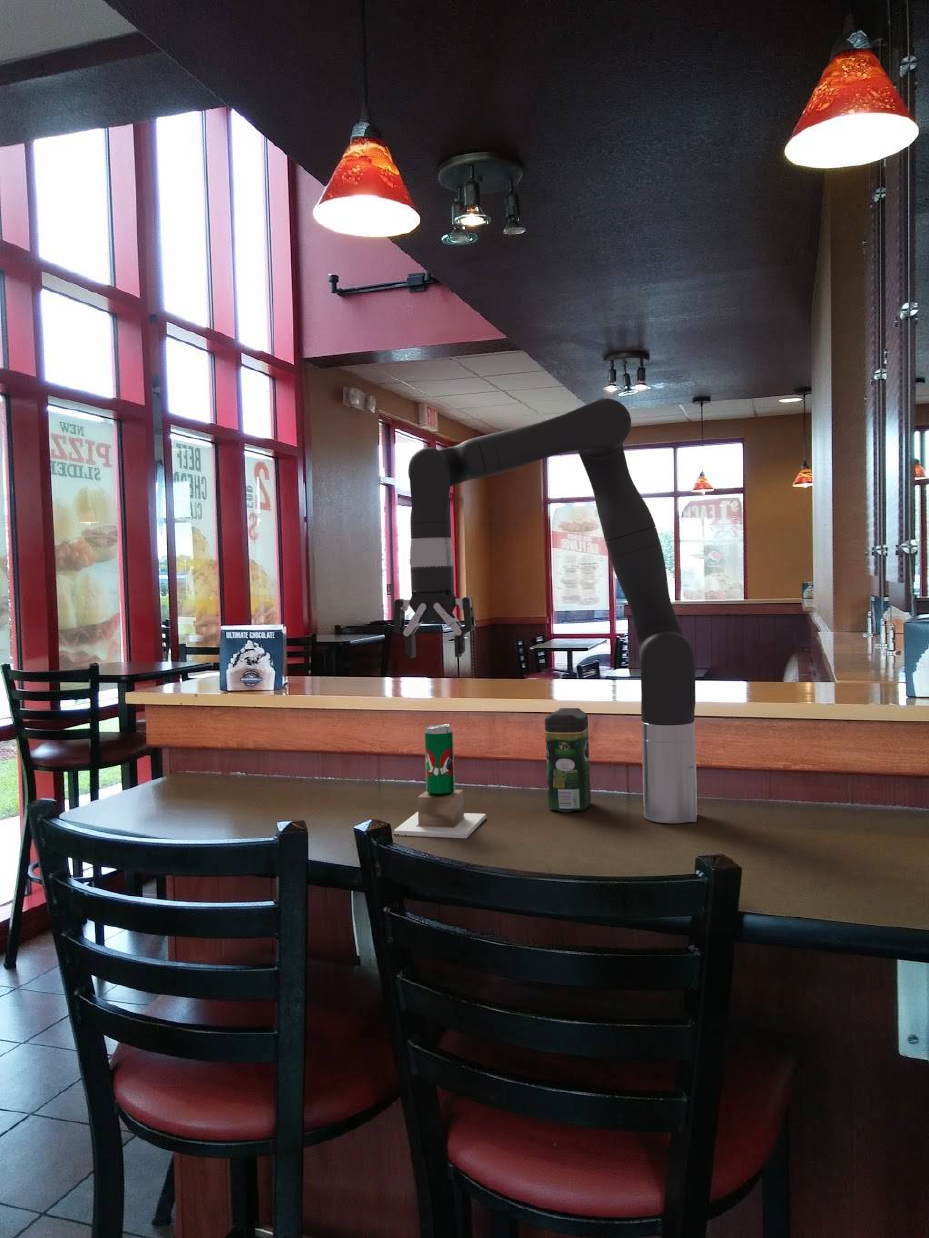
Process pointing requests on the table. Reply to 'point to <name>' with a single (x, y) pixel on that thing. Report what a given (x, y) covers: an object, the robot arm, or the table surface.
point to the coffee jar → (567, 760)
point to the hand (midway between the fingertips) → (435, 657)
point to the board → (457, 831)
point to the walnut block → (440, 809)
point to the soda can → (439, 760)
